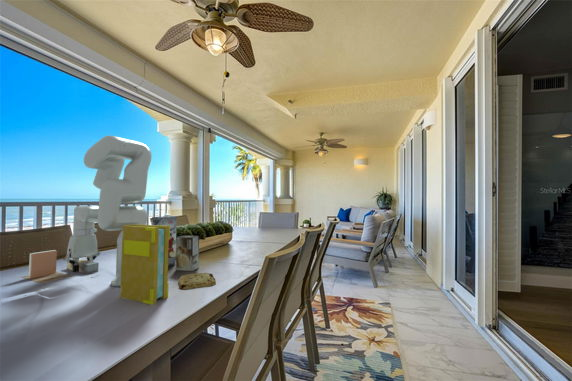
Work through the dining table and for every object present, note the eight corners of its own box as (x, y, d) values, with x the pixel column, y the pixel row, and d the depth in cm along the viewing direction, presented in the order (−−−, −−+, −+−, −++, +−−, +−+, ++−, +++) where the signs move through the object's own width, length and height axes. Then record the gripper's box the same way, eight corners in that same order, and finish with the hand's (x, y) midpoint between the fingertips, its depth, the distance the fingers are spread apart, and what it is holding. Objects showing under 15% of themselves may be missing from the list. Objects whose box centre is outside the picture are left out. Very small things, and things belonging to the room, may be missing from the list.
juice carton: (147, 267, 119) (149, 214, 120) (165, 262, 129) (166, 213, 130) (160, 270, 116) (162, 214, 117) (177, 264, 125) (179, 213, 127)
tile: (55, 273, 105) (56, 250, 106) (30, 278, 98) (31, 254, 98) (53, 272, 106) (54, 249, 106) (28, 277, 99) (29, 253, 99)
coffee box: (199, 267, 120) (200, 235, 121) (192, 271, 114) (193, 237, 114) (182, 266, 122) (183, 235, 122) (175, 270, 115) (175, 237, 116)
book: (168, 296, 84) (170, 225, 85) (151, 304, 77) (154, 227, 78) (133, 290, 89) (135, 224, 90) (115, 297, 83) (117, 225, 84)
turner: (98, 273, 108) (98, 262, 108) (87, 276, 104) (88, 264, 104) (77, 268, 115) (77, 258, 116) (66, 271, 112) (67, 260, 112)
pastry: (164, 287, 94) (165, 279, 94) (196, 274, 110) (196, 268, 110) (200, 293, 88) (200, 285, 88) (227, 279, 104) (227, 272, 104)
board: (72, 279, 101) (72, 276, 101) (40, 287, 92) (41, 283, 92) (52, 274, 108) (52, 270, 109) (20, 280, 99) (20, 277, 99)
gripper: (99, 230, 120) (98, 266, 119) (56, 234, 105) (54, 276, 104) (108, 230, 117) (106, 268, 116) (65, 235, 101) (63, 278, 101)
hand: (82, 271), depth 110 cm, fingers closed on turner, 4 cm apart
